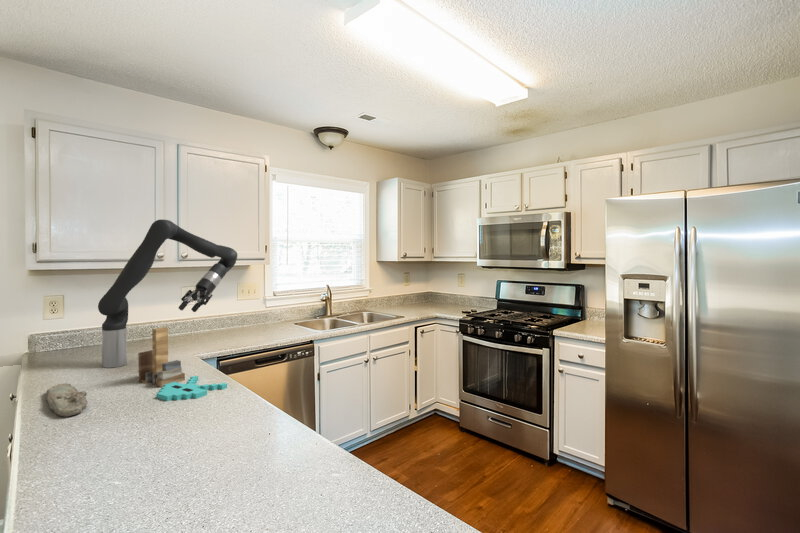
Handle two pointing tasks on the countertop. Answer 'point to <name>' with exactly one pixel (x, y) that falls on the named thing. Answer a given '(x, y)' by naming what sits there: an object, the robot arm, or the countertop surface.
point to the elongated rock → (66, 400)
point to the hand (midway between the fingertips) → (186, 310)
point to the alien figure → (187, 390)
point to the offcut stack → (170, 373)
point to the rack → (146, 367)
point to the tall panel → (159, 348)
